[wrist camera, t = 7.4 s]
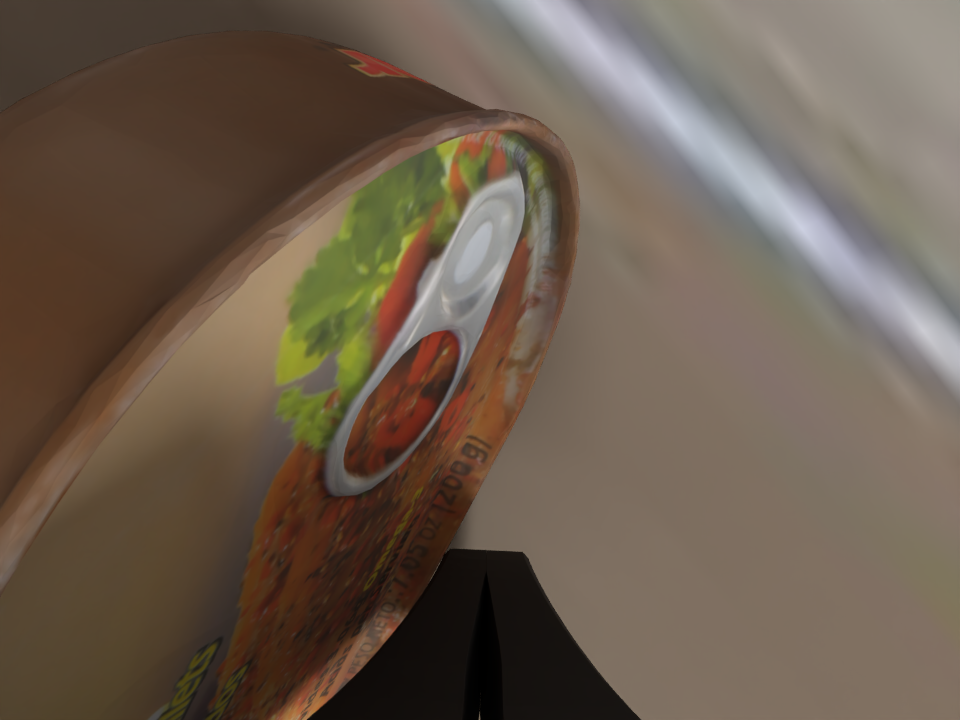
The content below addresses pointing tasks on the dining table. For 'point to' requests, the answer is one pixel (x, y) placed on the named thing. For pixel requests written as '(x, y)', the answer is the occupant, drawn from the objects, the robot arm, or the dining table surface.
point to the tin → (252, 365)
